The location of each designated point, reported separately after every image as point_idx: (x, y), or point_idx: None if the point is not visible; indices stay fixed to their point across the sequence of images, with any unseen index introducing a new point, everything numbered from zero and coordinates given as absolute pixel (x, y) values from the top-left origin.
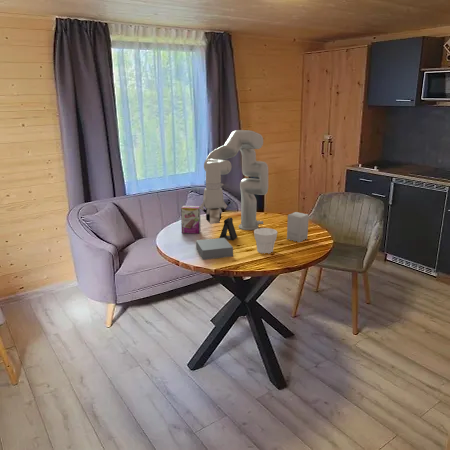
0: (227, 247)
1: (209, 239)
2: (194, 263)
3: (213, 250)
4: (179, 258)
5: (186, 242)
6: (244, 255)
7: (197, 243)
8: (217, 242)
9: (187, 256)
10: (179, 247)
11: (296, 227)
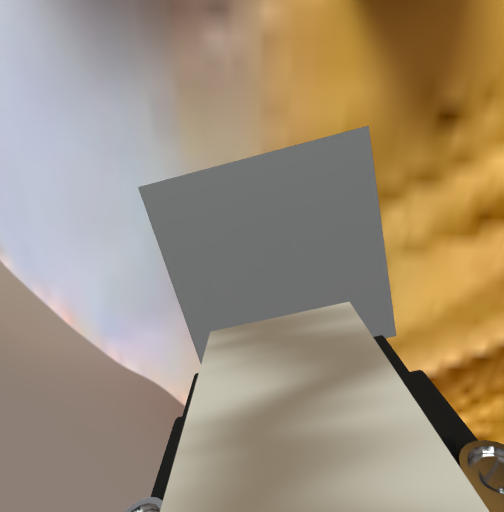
0: None
1: (242, 169)
2: (177, 381)
3: None
4: (91, 322)
5: (68, 33)
6: (440, 295)
7: (158, 235)
8: (302, 241)
9: (127, 297)
10: (45, 147)
11: None
